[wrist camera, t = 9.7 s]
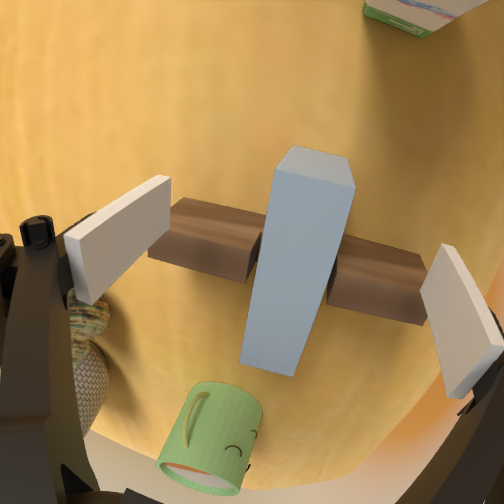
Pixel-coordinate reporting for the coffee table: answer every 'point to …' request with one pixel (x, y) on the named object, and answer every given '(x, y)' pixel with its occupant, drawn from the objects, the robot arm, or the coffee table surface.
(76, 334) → the seashell
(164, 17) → the coffee table surface
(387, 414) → the coffee table surface
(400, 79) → the coffee table surface
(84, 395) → the planter
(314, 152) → the blue rectangular block
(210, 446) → the mug
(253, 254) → the walnut rail
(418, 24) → the ink box
